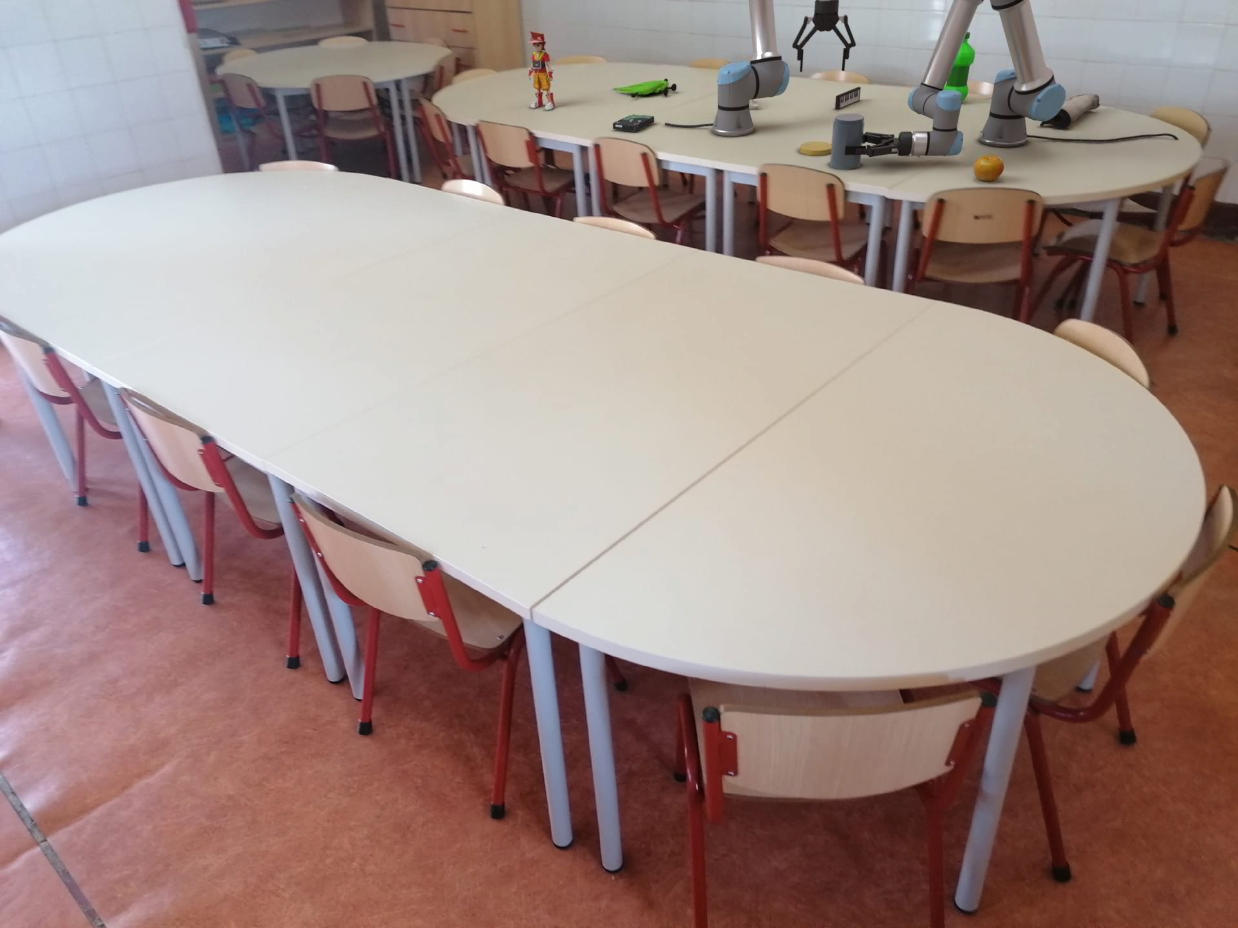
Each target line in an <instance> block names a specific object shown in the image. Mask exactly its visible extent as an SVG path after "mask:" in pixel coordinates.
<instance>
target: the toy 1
mask: <svg viewBox="0 0 1238 928" xmlns="http://www.w3.org/2000/svg"><path fill="white" fill-rule="evenodd" d="M529 33H530V35H531V36H528V37H527V38H528V39H529V40H528V41H527V43H529V44H530V43H531V44H532V48H533V50H534V51H533V52H532V55H531V58H530V59H531V63H530V66H528V74H527V75H528V76H527V77H528V79H529V80H531V75H532V74H533V84H532V85H533V86H532V87H533V88H534V89H535V90H536V92H534V95H535V97H536V100H535V101H533V102H531V105H530V108H531V109H535V108H538V107H542V106H544V101H543V100H544V99H543V95H544V92H546V94H545V97H546V99H547V103H546V104H545V106H544V110H546V111H549V110H553V109H554V107H555V106H556V105H555V99H554V92H551V91H550V90H551V86H552V84H551V82H552V81H553V80H554V77H553V73H554V71H555V70H554V69H552V68H551V63H550V61H551V59H550V58H551V57H550V54H549V53H548V52H547V50H546V48H545V46H546V44H547V41H545V35H544V33H543V32H542V33H539V32H535V31H529Z"/></svg>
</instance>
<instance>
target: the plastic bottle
mask: <svg viewBox="0 0 1238 928" xmlns="http://www.w3.org/2000/svg"><path fill="white" fill-rule="evenodd" d="M970 36H971V32H970V31H967V33H966V36H965V38H964V41H963V43H962V45H961V48H960V50H959V53H958V55H957V58H956V60H955V62H954V65H953V67H952V70H951V72H950V74H949V77H948V79H947V82H946V84H945V87H944V89H943V90H953V91H959V92H960V93H961V94H962V99H961V102H963V101H964V100H966V98H967V96H968V95H969V85H968V79H969V73H970V67H971V65H972V64H973V63H974V61H975V57H976V51H975V49H974V47H972V45H971V44H970V43H969V42H968V41H969V39H970V38H971V37H970Z"/></svg>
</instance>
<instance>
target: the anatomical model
mask: <svg viewBox="0 0 1238 928" xmlns="http://www.w3.org/2000/svg"><path fill="white" fill-rule="evenodd" d="M754 101H755V99H752V100H749V109H758V108H759V107H760V105H759V104H758V103H754Z"/></svg>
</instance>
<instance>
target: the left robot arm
mask: <svg viewBox="0 0 1238 928" xmlns="http://www.w3.org/2000/svg"><path fill="white" fill-rule="evenodd" d="M839 6H840V0H815V1H814V10H813V16H808V15H804V17H803V22H802V25H801V27H800V28H799V30H798V33H797V35H796V36H795V38H794V40H793V42H792V44H791V47H792V49H795V50H796V51H797V52H796V60H797V61H799V73H803V65H804V47H805V45H806V44H807V43H808V42H809V41H810V40H811V38H812V37H813V36H814V35H815V34H816V33H817V32H820V33H823V32H826V33H827V32H828V33H829V32H831V31H833V32H834V33H835V35H836V36H837V37H838V39H839V40H840V42H841V43H842V44H843V46H844V47H843V48H842V60H841V71H842V72H845V71H846V70H845V69H846V60H849V59H850V52H851V51H850V50H851V49H852V48H855V47H856V46H857V43H856V40H855V37H854V34H853V32H852V30H851V27H850V25H849V18H848V17H849V16H848V14H843V15H839ZM748 7H749V20H750V30H751V42H752V54H753V55H752V57H751V58H750V60H749V61H739V62H738V61H734V62H730V63H727V64H724V65H723V66H721V67H720V68H719V70H718V75H717V111H716V114H715V118H714V120H713V122H711V123H700V124H676V123H669V122H665V123H664V126H668V127H669V126H670V127H675V128H684V129H685V128H687V129H688V128H689V129H690V128H692V129H693V128H694V129H695V128H704V127H712V133H713V134H715V135H717V136H721V137H741V136H746V135H750V134H752V133H754V127H755V126H754V122H753V118H752V115H751V111H750V108H749V100H752V99H754V100H758V99H766V98H774V97H777V96H781V95H783V94H784V92H786V90H787V88H788V85H789V83H790V67H789V66H788V64H789V63H788V62H786V61H785V60H783V56H782V54H781V53H780V52H778V45H777V34H776V33H777V32H776V19H775V6H774V0H748ZM839 21H840V22H841V24H843V25H844V28H845V31H846V33H847V36H848V37H849V38H848V39H849V41H850V43H849V41H848V40H847V39H846V38H845V36H844V35H843V34H842V32H841V31H840V30H839V28H838V26H837V24H838V22H839ZM811 22H812V23H813V27H812V28H811V29H810V31H808V33H807V34H806V36H805V37H804V38H803V39H802V40H801V38H802V36H803V34H804V32H805V30H806V28H807V26H808V25H810V23H811ZM800 40H801V42H800Z"/></svg>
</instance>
